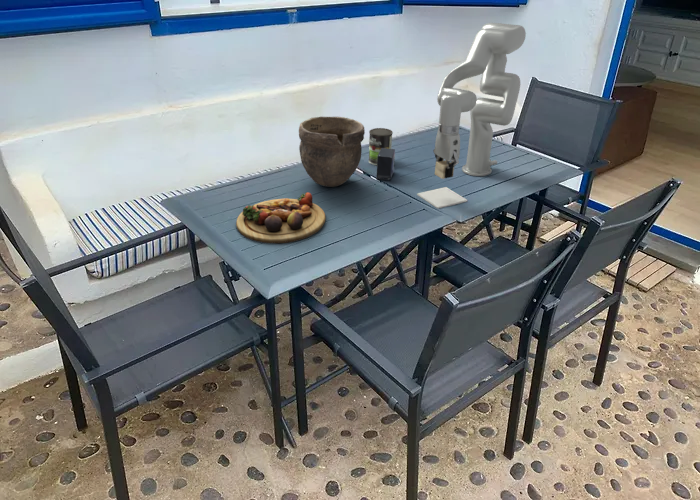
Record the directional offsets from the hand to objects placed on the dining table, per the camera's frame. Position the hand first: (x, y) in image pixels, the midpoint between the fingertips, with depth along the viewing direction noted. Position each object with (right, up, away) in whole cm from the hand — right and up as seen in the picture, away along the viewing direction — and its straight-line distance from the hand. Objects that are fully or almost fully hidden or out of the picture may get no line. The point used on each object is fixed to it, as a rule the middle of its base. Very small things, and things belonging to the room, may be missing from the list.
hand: (443, 174), depth 209 cm
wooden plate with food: (-61, -19, -12) cm, 65 cm away
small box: (-21, +3, +25) cm, 33 cm away
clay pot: (-43, -1, +18) cm, 47 cm away
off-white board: (0, -9, +5) cm, 10 cm away
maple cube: (0, 0, 0) cm, 1 cm away
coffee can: (-22, +11, +39) cm, 46 cm away
